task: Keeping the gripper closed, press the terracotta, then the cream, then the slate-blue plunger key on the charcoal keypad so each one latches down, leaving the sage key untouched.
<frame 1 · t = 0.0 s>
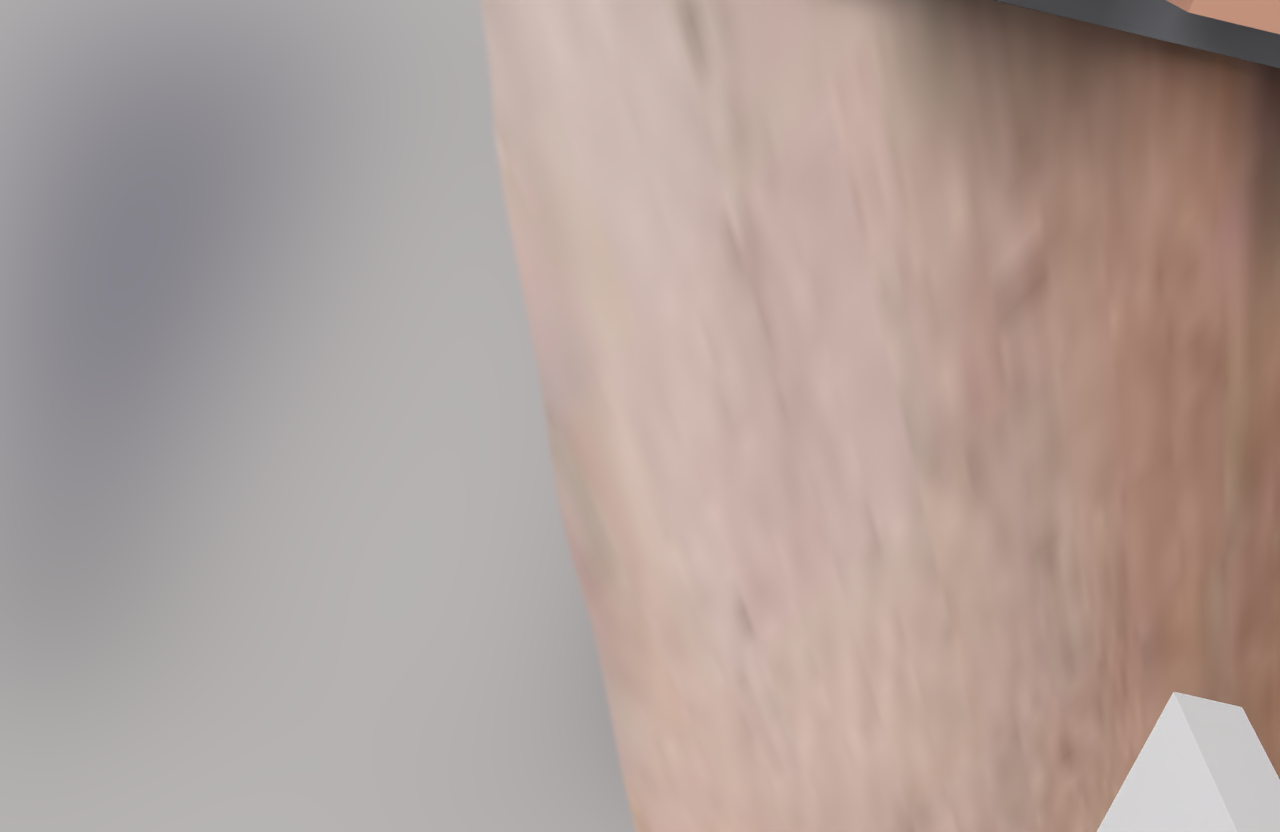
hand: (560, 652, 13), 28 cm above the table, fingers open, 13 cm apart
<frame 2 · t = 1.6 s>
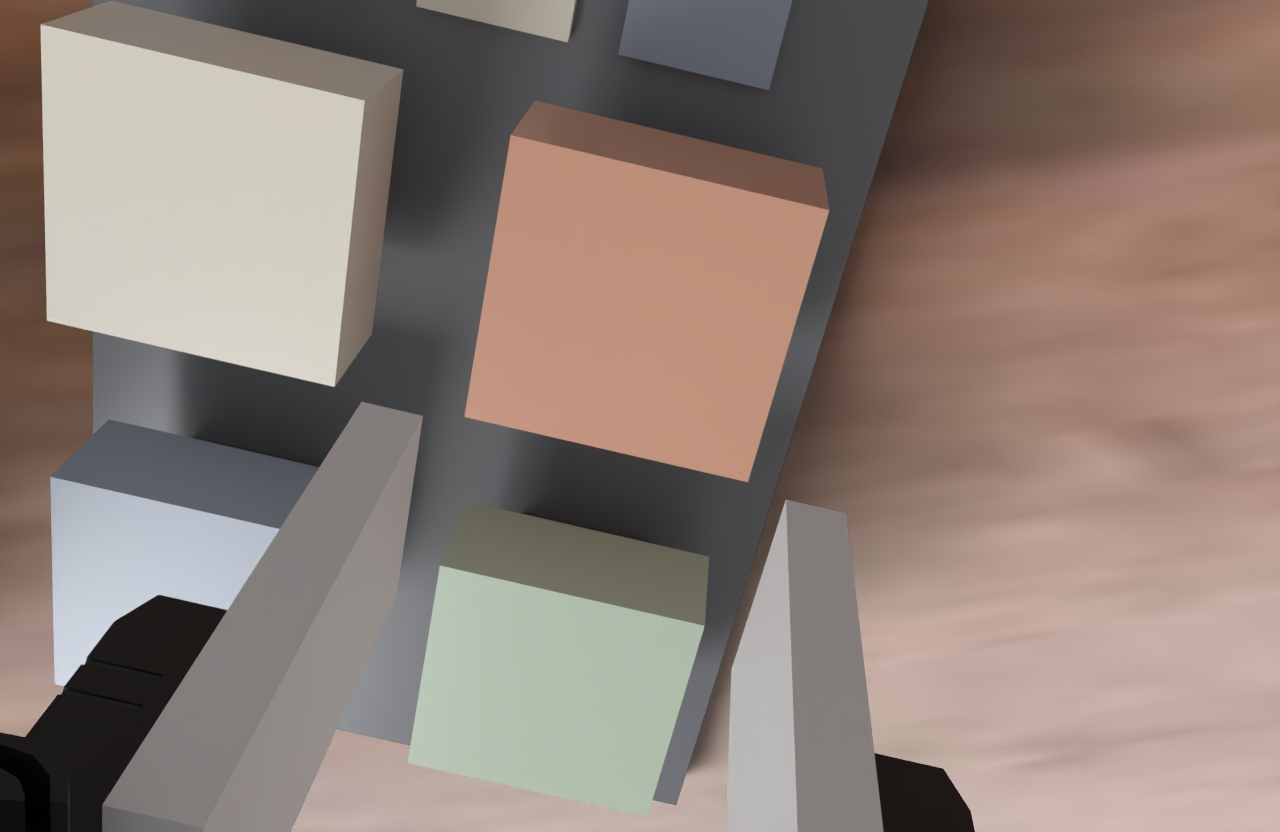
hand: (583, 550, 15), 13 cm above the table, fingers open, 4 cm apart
key slate: (204, 580, 27), point 4 cm above the table, slide at 0.0 cm
keypad: (450, 364, 28), on the table
key terracotta: (642, 293, 23), point 4 cm above the table, slide at 0.0 cm
key cream: (224, 195, 23), point 4 cm above the table, slide at 0.0 cm
key sage: (557, 660, 27), point 4 cm above the table, slide at 0.0 cm
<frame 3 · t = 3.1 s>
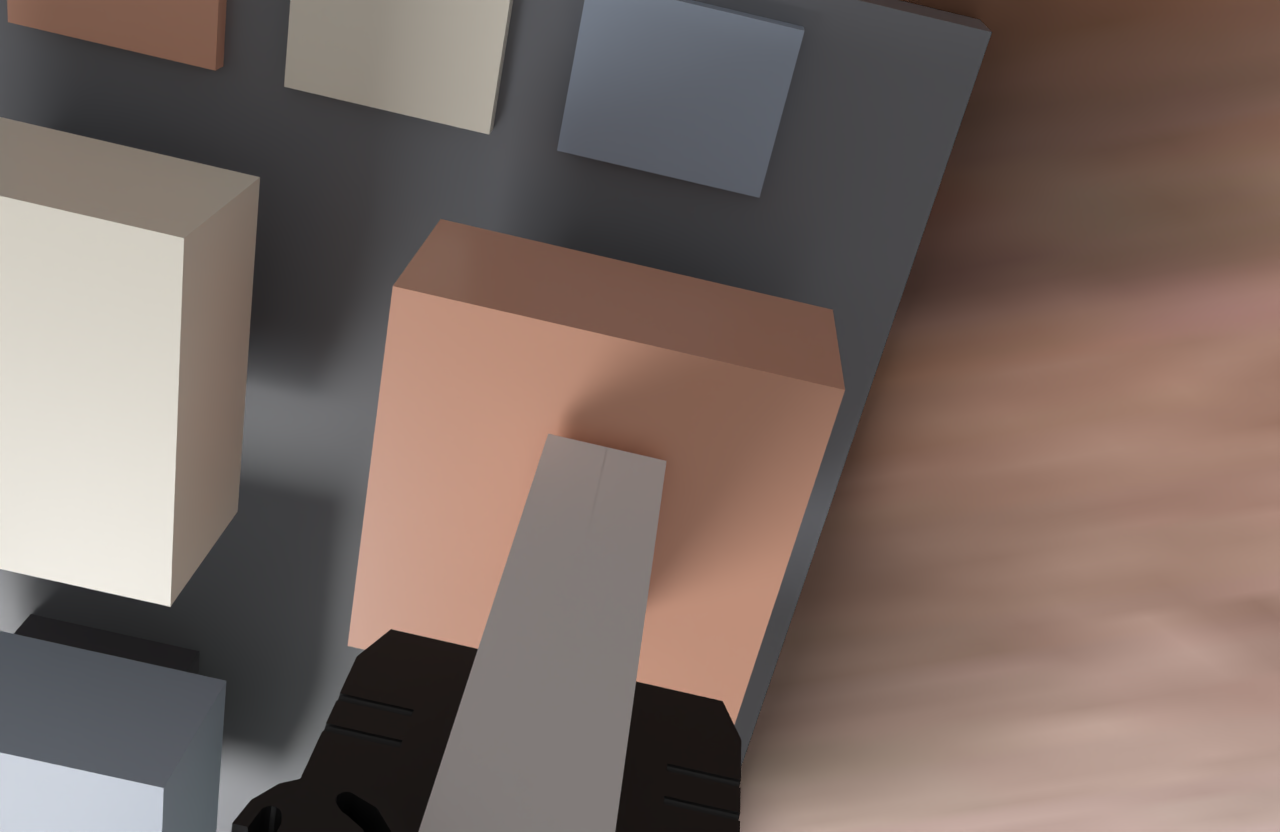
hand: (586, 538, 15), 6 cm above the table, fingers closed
key slate: (32, 815, 21), point 4 cm above the table, slide at 0.0 cm
keypad: (356, 524, 22), on the table
key terracotta: (588, 478, 17), point 4 cm above the table, slide at 0.0 cm, touching gripper
key cream: (16, 349, 17), point 4 cm above the table, slide at 0.0 cm
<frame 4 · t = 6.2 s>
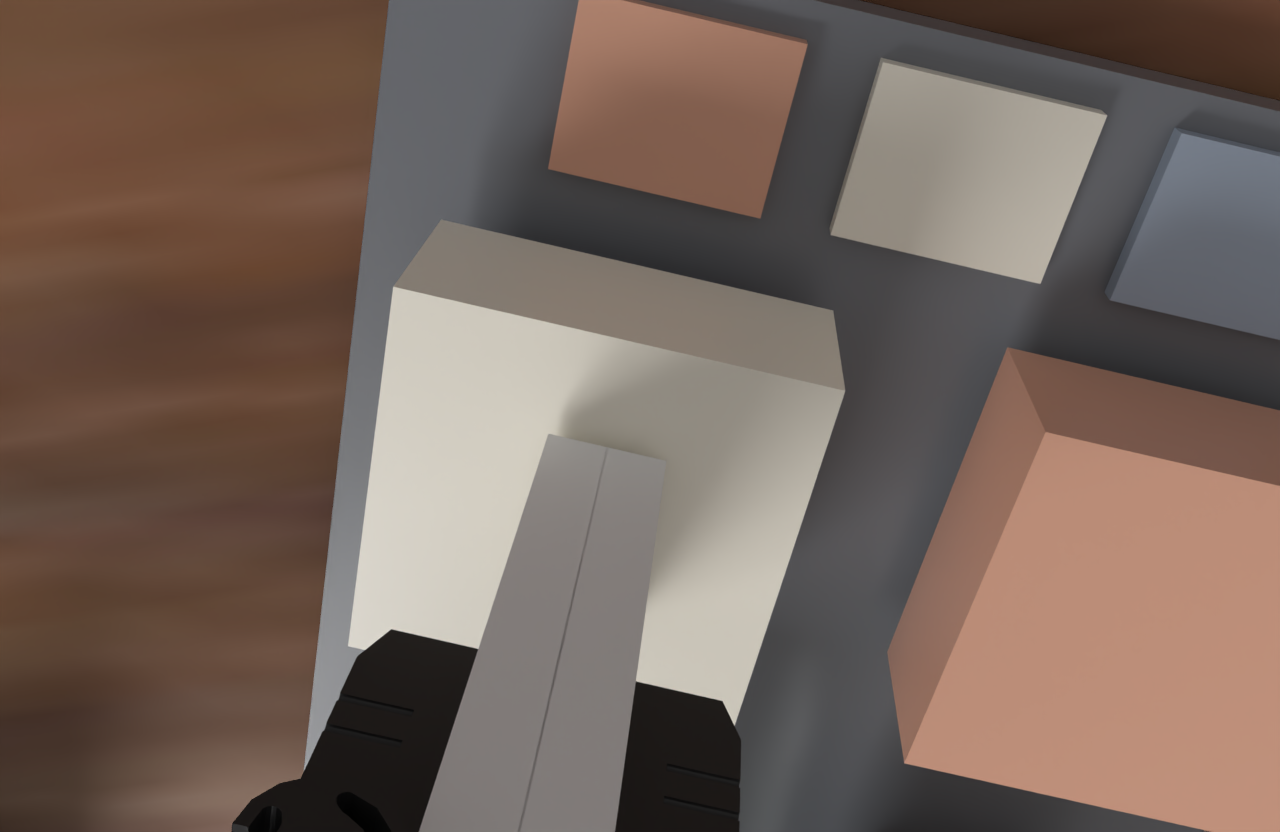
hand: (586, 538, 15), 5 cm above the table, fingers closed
keypad: (780, 650, 22), on the table
key terracotta: (1144, 600, 17), point 3 cm above the table, slide at 1.1 cm
key cream: (589, 479, 17), point 3 cm above the table, slide at 0.9 cm, touching gripper
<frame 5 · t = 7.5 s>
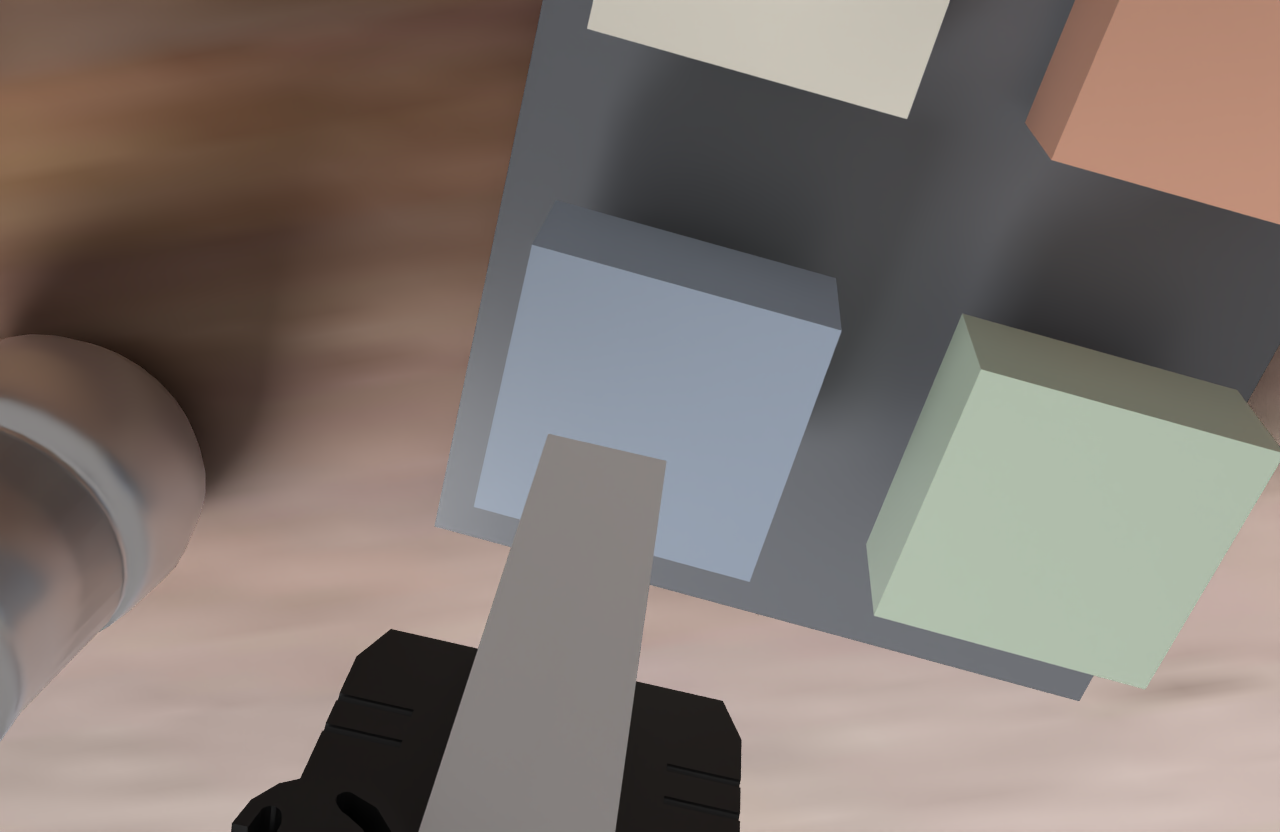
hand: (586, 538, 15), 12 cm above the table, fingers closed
key slate: (653, 393, 23), point 4 cm above the table, slide at 0.0 cm
keypad: (917, 167, 25), on the table
key terracotta: (1262, 26, 20), point 3 cm above the table, slide at 1.1 cm
plastic bottle: (109, 425, 30), on the table
key sage: (1054, 503, 23), point 4 cm above the table, slide at 0.0 cm
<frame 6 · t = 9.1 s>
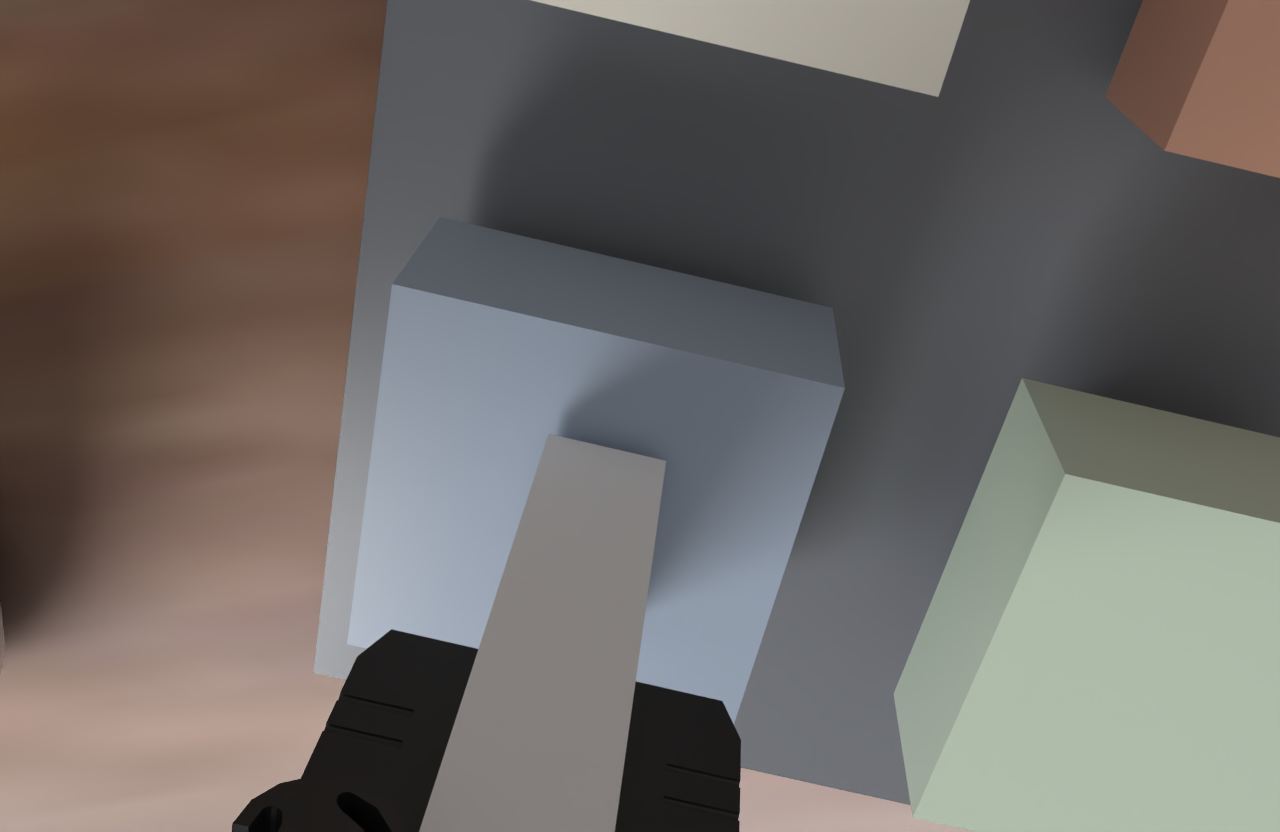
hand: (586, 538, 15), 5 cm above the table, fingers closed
key slate: (588, 477, 17), point 3 cm above the table, slide at 0.9 cm, touching gripper
keypad: (943, 168, 18), on the table
key sage: (1166, 645, 16), point 4 cm above the table, slide at 0.0 cm
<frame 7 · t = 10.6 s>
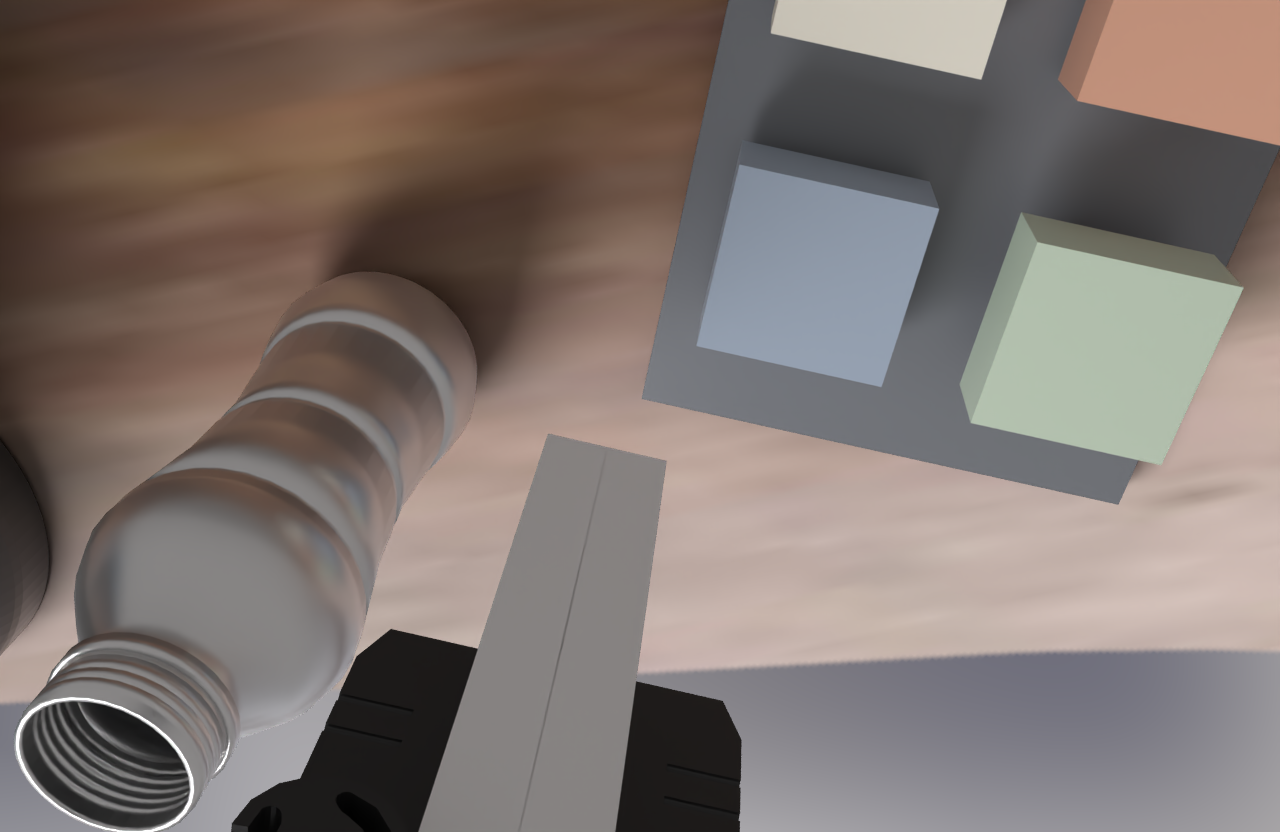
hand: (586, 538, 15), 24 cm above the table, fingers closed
key slate: (812, 264, 35), point 3 cm above the table, slide at 1.1 cm
keypad: (983, 116, 36), on the table
key terracotta: (1211, 5, 31), point 3 cm above the table, slide at 1.1 cm
plastic bottle: (398, 341, 41), on the table
key sage: (1091, 339, 34), point 4 cm above the table, slide at 0.0 cm
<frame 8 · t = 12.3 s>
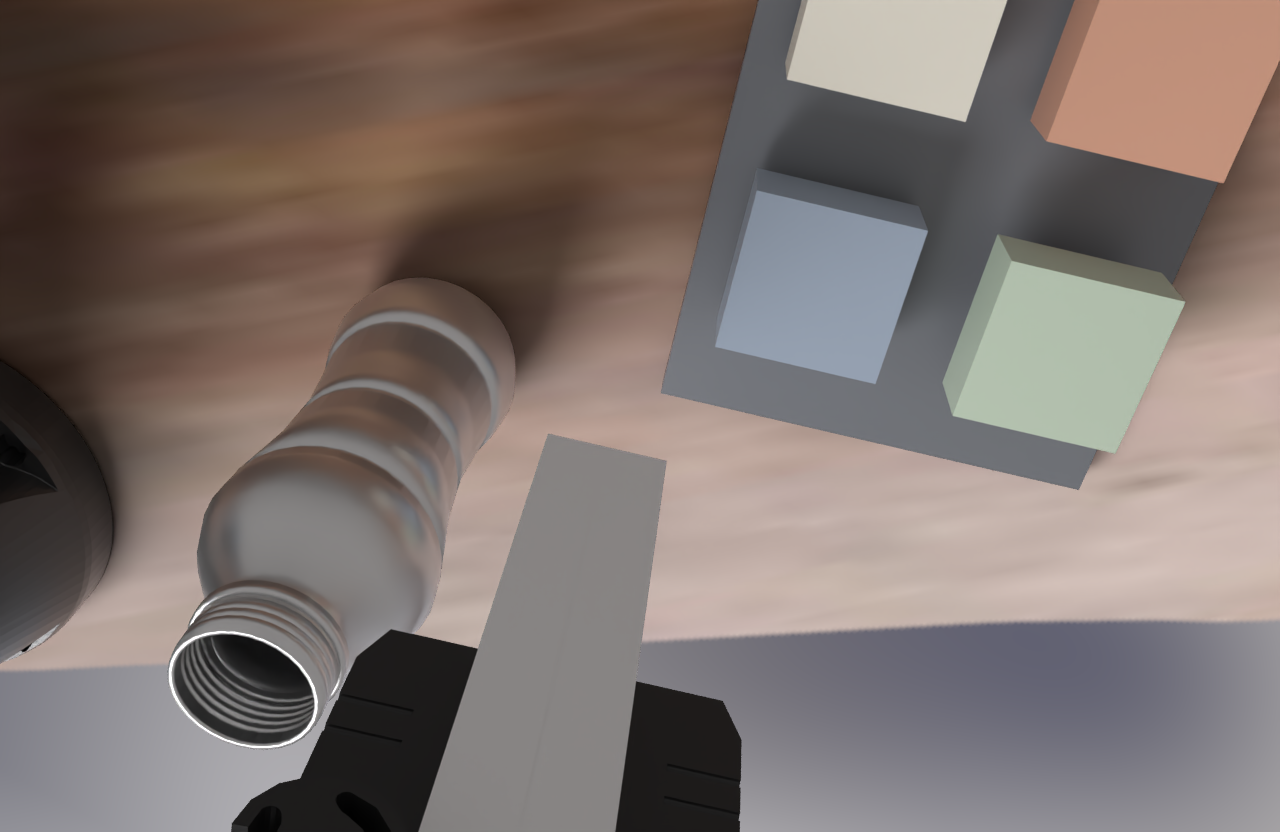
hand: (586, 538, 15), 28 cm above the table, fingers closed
key slate: (816, 276, 40), point 3 cm above the table, slide at 1.1 cm
keypad: (965, 149, 41), on the table
key terracotta: (1160, 62, 36), point 3 cm above the table, slide at 1.1 cm
key cream: (900, 0, 36), point 3 cm above the table, slide at 1.1 cm
plastic bottle: (442, 339, 46), on the table
key sage: (1056, 344, 40), point 4 cm above the table, slide at 0.0 cm
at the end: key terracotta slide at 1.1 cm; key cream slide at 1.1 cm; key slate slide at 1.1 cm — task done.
